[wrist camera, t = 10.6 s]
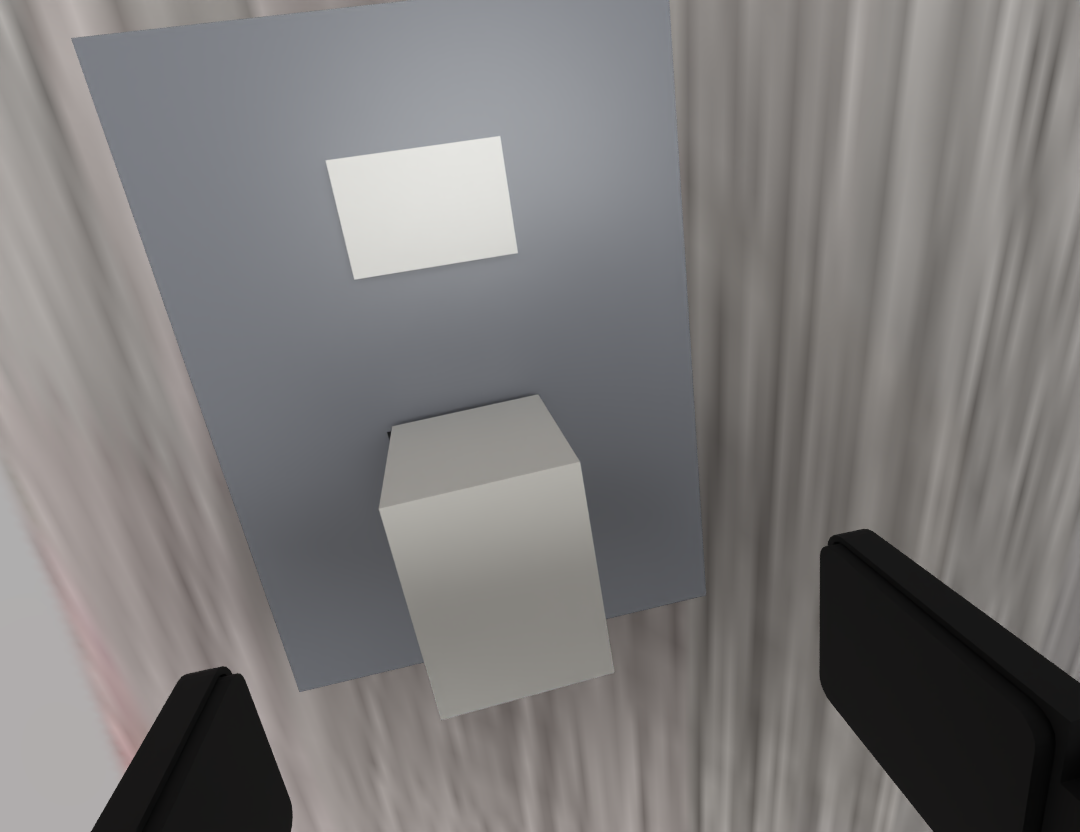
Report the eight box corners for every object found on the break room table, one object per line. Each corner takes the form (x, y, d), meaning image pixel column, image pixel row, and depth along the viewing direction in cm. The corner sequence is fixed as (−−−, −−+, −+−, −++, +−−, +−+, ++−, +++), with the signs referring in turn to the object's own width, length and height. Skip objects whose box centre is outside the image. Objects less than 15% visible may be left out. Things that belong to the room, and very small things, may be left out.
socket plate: (674, 552, 21) (717, 611, 18) (315, 634, 19) (293, 713, 16) (631, 8, 15) (682, -44, 12) (130, 67, 14) (46, 26, 11)
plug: (547, 509, 19) (614, 672, 13) (435, 536, 19) (440, 720, 12) (520, 365, 18) (580, 461, 11) (397, 392, 17) (378, 508, 11)
